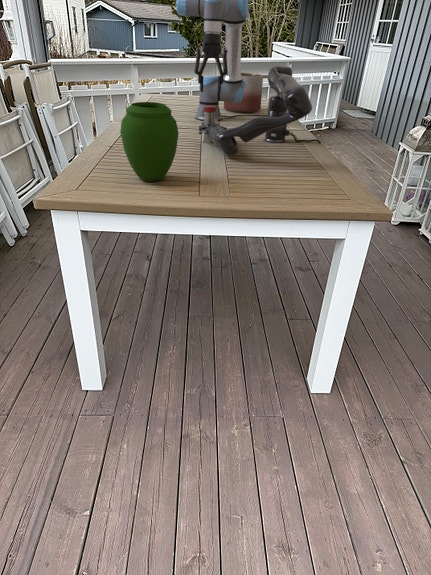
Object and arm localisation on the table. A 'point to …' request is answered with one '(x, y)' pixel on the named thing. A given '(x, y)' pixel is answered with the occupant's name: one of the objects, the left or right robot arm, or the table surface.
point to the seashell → (214, 122)
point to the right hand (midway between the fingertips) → (207, 126)
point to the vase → (149, 139)
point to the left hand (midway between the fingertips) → (210, 91)
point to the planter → (248, 95)
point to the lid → (209, 108)
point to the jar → (208, 123)
